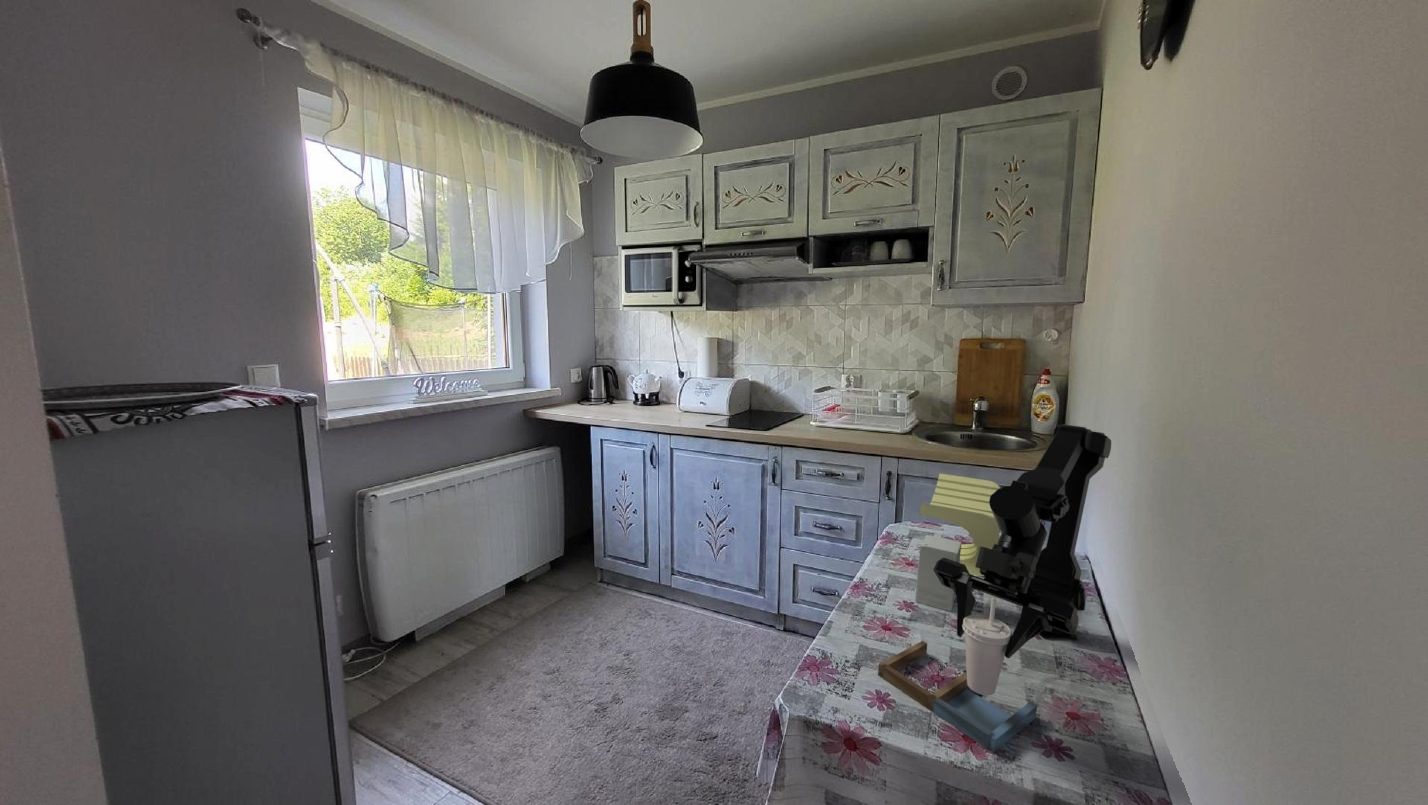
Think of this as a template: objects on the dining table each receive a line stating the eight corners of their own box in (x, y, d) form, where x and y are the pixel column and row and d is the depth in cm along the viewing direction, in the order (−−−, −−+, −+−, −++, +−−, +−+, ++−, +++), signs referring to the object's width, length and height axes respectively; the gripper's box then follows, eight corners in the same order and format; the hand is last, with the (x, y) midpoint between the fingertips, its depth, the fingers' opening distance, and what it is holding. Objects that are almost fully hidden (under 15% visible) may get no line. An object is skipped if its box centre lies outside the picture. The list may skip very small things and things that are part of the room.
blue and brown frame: (921, 651, 93) (922, 640, 92) (1035, 717, 77) (1037, 705, 77) (877, 675, 86) (878, 664, 86) (993, 753, 70) (995, 739, 70)
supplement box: (952, 612, 106) (957, 553, 104) (913, 601, 110) (918, 544, 108) (957, 597, 112) (962, 541, 110) (920, 587, 116) (925, 533, 114)
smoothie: (1015, 701, 74) (1026, 609, 72) (971, 702, 74) (981, 610, 72) (989, 671, 80) (998, 586, 78) (948, 672, 80) (956, 587, 78)
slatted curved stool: (992, 595, 113) (1000, 517, 111) (914, 576, 121) (921, 502, 119) (998, 547, 139) (1005, 483, 136) (934, 534, 147) (939, 473, 144)
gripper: (943, 508, 83) (904, 596, 77) (1083, 546, 69) (1047, 657, 63) (960, 542, 89) (925, 626, 84) (1091, 583, 76) (1059, 686, 70)
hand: (981, 646), depth 75 cm, fingers closed on smoothie, 6 cm apart
